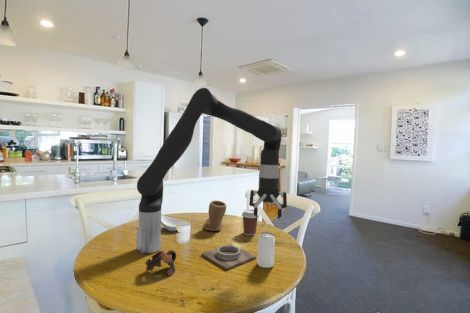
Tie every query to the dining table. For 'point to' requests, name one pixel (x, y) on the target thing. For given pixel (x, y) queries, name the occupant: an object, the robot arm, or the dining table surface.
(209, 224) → the brown boot vase
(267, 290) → the dining table surface
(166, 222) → the spoon rest
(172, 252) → the brown arched figurine
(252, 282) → the dining table surface
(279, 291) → the dining table surface
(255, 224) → the coffee cup
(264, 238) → the can
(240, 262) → the collar board
